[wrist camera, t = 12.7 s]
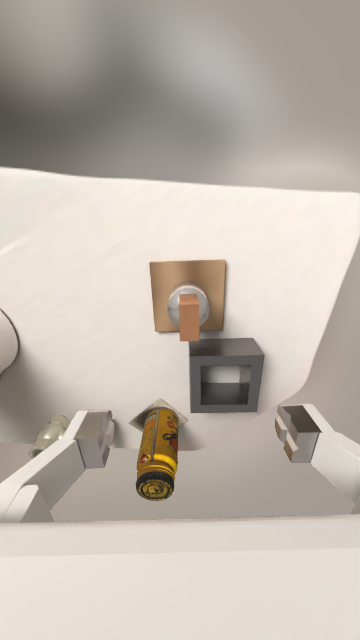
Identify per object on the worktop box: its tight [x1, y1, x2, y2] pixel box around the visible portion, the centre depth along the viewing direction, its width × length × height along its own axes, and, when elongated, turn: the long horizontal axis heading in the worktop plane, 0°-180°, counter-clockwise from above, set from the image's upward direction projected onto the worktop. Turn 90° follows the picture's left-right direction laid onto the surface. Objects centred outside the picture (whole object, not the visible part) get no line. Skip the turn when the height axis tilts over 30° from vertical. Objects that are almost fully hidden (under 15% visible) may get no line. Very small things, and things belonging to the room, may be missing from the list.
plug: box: [167, 281, 210, 341], centre depth 26 cm, size 5×5×9 cm
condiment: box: [129, 399, 188, 501], centre depth 34 cm, size 7×8×12 cm
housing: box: [189, 338, 264, 413], centre depth 33 cm, size 10×10×5 cm
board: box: [149, 260, 225, 332], centre depth 30 cm, size 10×10×1 cm
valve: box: [28, 415, 109, 459], centre depth 37 cm, size 7×7×12 cm
